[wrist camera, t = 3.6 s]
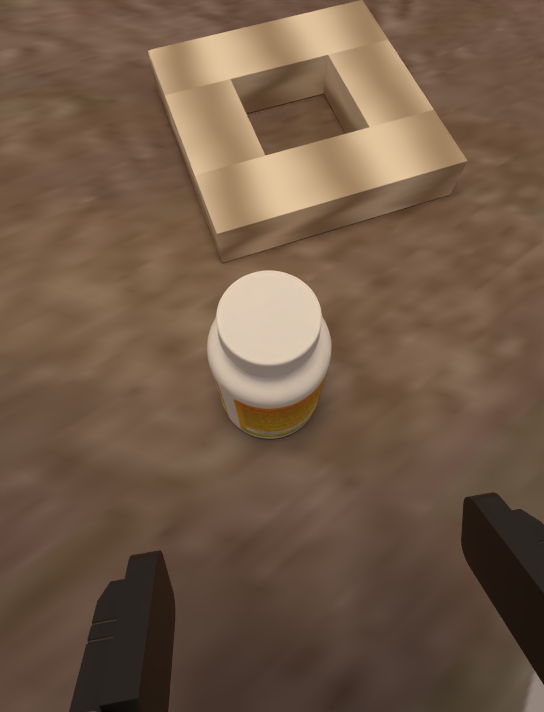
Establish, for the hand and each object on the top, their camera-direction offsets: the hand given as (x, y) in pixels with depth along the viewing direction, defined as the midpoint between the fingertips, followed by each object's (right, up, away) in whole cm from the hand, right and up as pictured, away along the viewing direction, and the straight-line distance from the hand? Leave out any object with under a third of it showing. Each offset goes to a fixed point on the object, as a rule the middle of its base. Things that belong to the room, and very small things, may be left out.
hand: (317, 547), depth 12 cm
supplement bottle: (-1, +3, +14) cm, 15 cm away
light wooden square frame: (+1, +20, +21) cm, 29 cm away
